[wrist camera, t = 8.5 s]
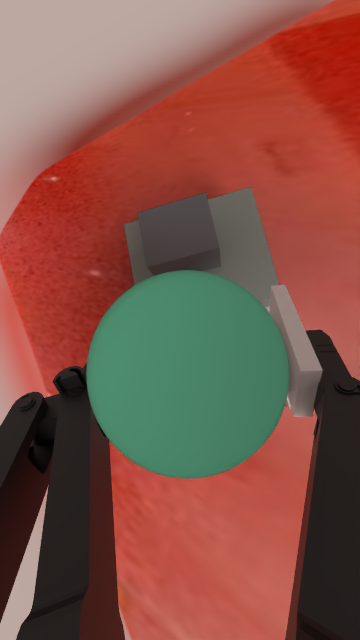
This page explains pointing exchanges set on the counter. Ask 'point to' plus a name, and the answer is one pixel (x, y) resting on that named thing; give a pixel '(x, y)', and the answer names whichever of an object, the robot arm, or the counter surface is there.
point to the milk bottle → (187, 374)
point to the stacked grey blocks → (205, 242)
